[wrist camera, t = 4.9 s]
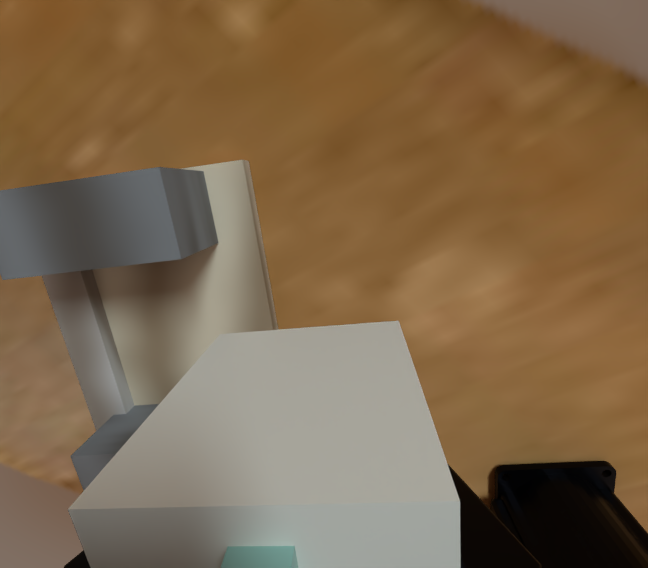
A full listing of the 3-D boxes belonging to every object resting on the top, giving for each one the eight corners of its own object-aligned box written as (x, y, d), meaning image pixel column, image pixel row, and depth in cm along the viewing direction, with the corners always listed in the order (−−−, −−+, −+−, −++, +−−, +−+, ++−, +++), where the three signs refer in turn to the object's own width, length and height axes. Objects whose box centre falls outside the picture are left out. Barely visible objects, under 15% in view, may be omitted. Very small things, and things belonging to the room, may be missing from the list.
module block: (398, 320, 8) (469, 528, 3) (409, 513, 10) (469, 851, 5) (220, 334, 9) (46, 533, 4) (258, 516, 11) (170, 827, 5)
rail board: (248, 161, 17) (208, 152, 13) (297, 438, 22) (281, 510, 17) (33, 192, 19) (-77, 195, 14) (119, 448, 23) (58, 517, 18)
